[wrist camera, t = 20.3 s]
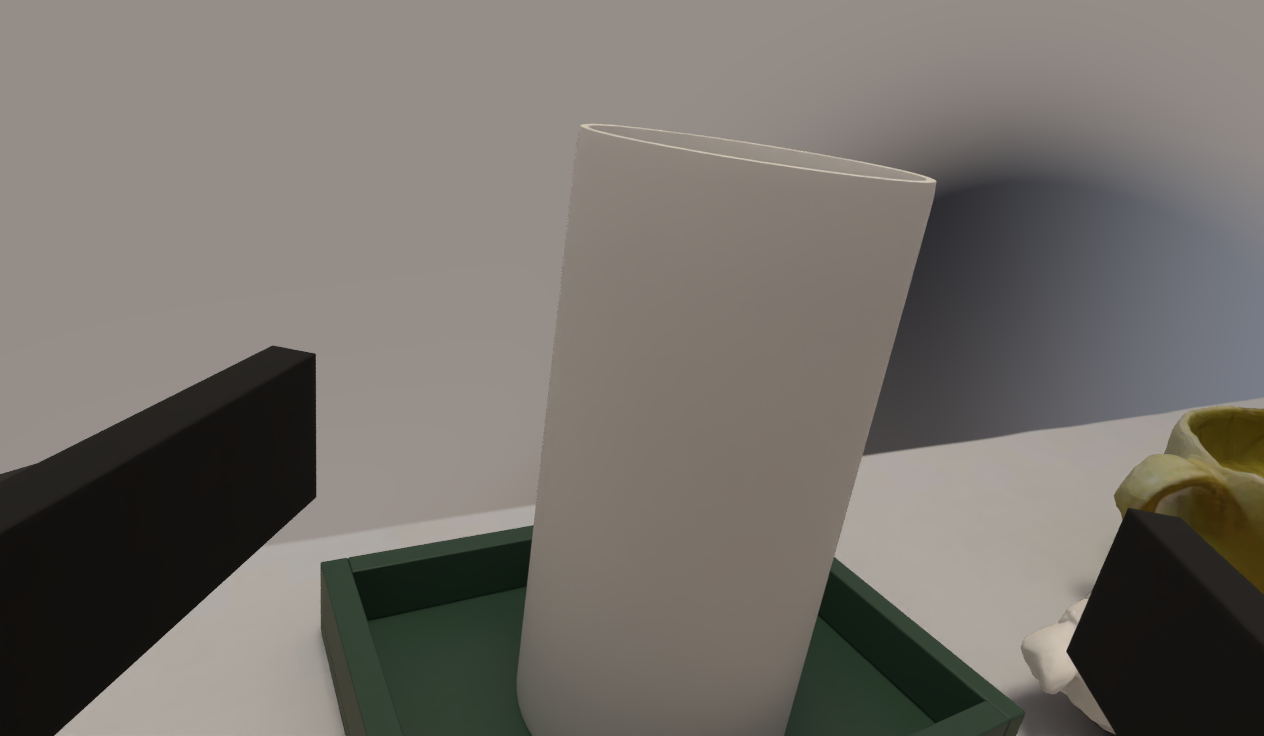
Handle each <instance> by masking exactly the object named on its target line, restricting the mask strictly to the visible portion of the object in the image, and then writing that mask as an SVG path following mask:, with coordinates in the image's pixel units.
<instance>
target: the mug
mask: <svg viewBox="0 0 1264 736" xmlns="http://www.w3.org/2000/svg"><path fill="white" fill-rule="evenodd" d="M1114 498H1115V502H1116V506H1117V507H1118V509H1119V510H1120V512H1121V516H1122V519H1123V518H1124V516H1125V514H1126V511H1127V509H1128V508H1133V509H1138V510H1143V511H1148V512H1154V513H1159V514H1164V515H1170V516H1175V517H1180V518H1181V519H1182V520H1183V521H1185V522H1186V523H1187V524H1188V525H1189V526H1190V527H1191V528H1192V529H1193V530H1194V531H1195V532H1196V533H1198V534H1199V535H1200V536H1201V537H1202V538H1203V539H1204V540H1205V541H1206V542H1207V543H1208V544H1209V545H1211V546H1212V547H1213V548H1214V549H1215V550H1216V551H1217V552H1218V553H1219V554H1220V555H1221V556H1222V557H1224V558H1225V559H1226V560H1227V561H1228V562H1229V563H1230V564H1231V565H1232V566H1233V567H1234V568H1235V569H1236V570H1238V571H1239V572H1240V573H1241V574H1242V575H1243V576H1244V577H1245V578H1246V579H1247V580H1248V581H1249V582H1251V583H1252V584H1253V585H1254V586H1255V587H1256V588H1257V589H1258V590H1259V591H1260V592H1261V593H1262V594H1264V409H1256V408H1241V407H1235V406H1216V407H1209V408H1203V409H1199V410H1192V411H1189V412H1187V413H1185V414H1184V415H1183V416H1182V417H1181V419H1180V420H1179V421H1178V422H1177V424H1176V425H1175V427H1174V428H1173V430H1172V433H1171V436H1170V438H1169V441H1168V444H1167V448H1166V450H1165V453H1164V454H1157V455H1151V456H1149V457H1147V458H1146V459H1145V460H1144V461H1143V462H1142V463H1140V464H1139V465H1138V466H1136V467H1135V468H1133V470H1132V471H1131V472H1130V474H1129V475H1128V476H1127V477H1126V478H1125V480H1124V481H1123V482H1122V484H1121V485H1120V487H1119V488H1118V489H1117V491H1116V492H1115V495H1114Z"/></svg>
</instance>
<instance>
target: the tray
mask: <svg viewBox="0 0 1264 736" xmlns="http://www.w3.org/2000/svg"><path fill="white" fill-rule="evenodd" d="M533 527H534V525H533V526H527V527H522V528H516V529H510V530H504V531H499V532H493V533H487V534H481V535H476V536H470V537H464V538H458V539H453V540H447V541H441V542H435V543H430V544H424V545H418V546H412V547H407V548H401V549H395V550H389V551H384V552H378V553H372V554H366V555H361V556H355V557H349V558H348V559H347V558H343V559H338V560H332V561H326V562H322V563H321V631H322V636H323V640H324V644H325V648H326V653H327V657H328V661H329V665H330V670H331V674H332V678H333V682H334V687H335V691H336V695H337V699H338V704H339V708H340V712H341V716H342V720H343V725H344V729H345V733H346V736H532V735H531V733H530V732H529V730H528V728H527V726H526V724H525V722H524V719H523V717H522V715H521V711H520V708H519V704H518V698H517V684H516V681H517V671H518V662H519V653H520V644H521V635H522V626H523V617H524V608H525V599H526V590H527V581H528V572H529V563H530V554H531V545H532V536H533ZM1024 715H1025V712H1024V710H1022V709H1021V708H1020V707H1019V706H1017V705H1016V704H1015V703H1014V702H1013V701H1011V700H1010V699H1009V698H1008V697H1006V696H1005V695H1004V694H1003V693H1001V692H1000V691H999V690H998V689H996V688H995V687H994V686H993V685H992V684H990V683H989V682H988V681H987V680H985V679H984V678H983V677H982V676H980V675H979V674H978V673H977V672H975V671H974V670H973V669H972V668H971V667H969V666H968V665H967V664H966V663H964V662H963V661H962V660H961V659H959V658H958V657H957V656H956V655H954V654H953V653H952V652H951V651H950V650H948V649H947V648H946V647H945V646H943V645H942V644H941V643H940V642H938V641H937V640H936V639H935V638H933V637H932V636H931V635H930V634H929V633H927V632H926V631H925V630H924V629H922V628H921V627H920V626H919V625H917V624H916V623H915V622H914V621H912V620H911V619H910V618H909V617H908V616H906V615H905V614H904V613H903V612H901V611H900V610H899V609H898V608H896V607H895V606H894V605H893V604H892V603H890V602H889V601H888V600H887V599H885V598H884V597H883V596H882V595H880V594H879V593H878V592H877V591H875V590H874V589H873V588H872V587H871V586H869V585H868V584H867V583H866V582H864V581H863V580H862V579H861V578H859V577H858V576H857V575H856V574H854V573H853V572H852V571H851V570H850V569H848V568H847V567H846V566H845V565H843V564H842V563H841V562H840V561H838V560H837V559H836V558H835V557H834V558H833V562H832V565H831V569H830V573H829V576H828V580H827V583H826V587H825V590H824V594H823V598H822V601H821V605H820V608H819V612H818V615H817V619H816V623H815V626H814V630H813V633H812V637H811V641H810V644H809V648H808V651H807V655H806V658H805V662H804V666H803V669H802V673H801V676H800V680H799V683H798V687H797V691H796V694H795V698H794V701H793V705H792V709H791V712H790V716H789V719H788V723H787V726H786V730H785V734H784V736H1016V734H1017V732H1018V730H1019V727H1020V725H1021V723H1022V720H1023V718H1024Z"/></svg>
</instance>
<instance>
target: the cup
mask: <svg viewBox="0 0 1264 736" xmlns="http://www.w3.org/2000/svg"><path fill="white" fill-rule="evenodd" d="M935 187H936V181H935V180H934V179H931V178H929V177H926V176H923V175H919V174H915V173H912V172H908V171H903V170H899V169H894V168H889V167H885V166H880V165H875V164H870V163H865V162H860V161H855V160H849V159H843V158H839V157H833V156H827V155H822V154H816V153H810V152H805V151H798V150H793V149H787V148H780V147H774V146H768V145H761V144H756V143H749V142H743V141H736V140H729V139H722V138H715V137H708V136H701V135H694V134H687V133H679V132H672V131H664V130H655V129H647V128H638V127H628V126H619V125H618V126H617V125H607V124H606V125H605V124H582V125H580V129H579V133H578V138H577V143H576V152H575V160H574V169H573V178H572V187H571V196H570V205H569V214H568V222H567V231H566V240H565V249H564V257H563V266H562V276H561V284H560V294H559V302H558V311H557V321H556V329H555V338H554V347H553V357H552V365H551V374H550V383H549V392H548V402H547V410H546V420H545V428H544V437H543V446H542V456H541V464H540V473H539V483H538V491H537V501H536V509H535V518H534V527H533V536H532V545H531V554H530V563H529V572H528V581H527V590H526V599H525V608H524V617H523V626H522V635H521V644H520V653H519V662H518V671H517V681H516V684H517V698H518V704H519V708H520V711H521V715H522V717H523V719H524V722H525V724H526V726H527V728H528V730H529V732H530V733H531V735H532V736H784V734H785V730H786V726H787V723H788V719H789V716H790V712H791V709H792V705H793V701H794V698H795V694H796V691H797V687H798V683H799V680H800V676H801V673H802V669H803V666H804V662H805V658H806V655H807V651H808V648H809V644H810V641H811V637H812V633H813V630H814V626H815V623H816V619H817V615H818V612H819V608H820V605H821V601H822V598H823V594H824V590H825V587H826V583H827V580H828V576H829V573H830V569H831V565H832V562H833V558H834V555H835V551H836V547H837V544H838V540H839V537H840V533H841V530H842V526H843V522H844V519H845V515H846V512H847V508H848V504H849V501H850V497H851V494H852V490H853V487H854V483H855V479H856V476H857V472H858V469H859V465H860V462H861V458H862V454H863V451H864V447H865V444H866V440H867V436H868V433H869V429H870V426H871V422H872V419H873V415H874V411H875V408H876V404H877V401H878V397H879V394H880V390H881V386H882V383H883V379H884V376H885V372H886V368H887V365H888V361H889V358H890V354H891V350H892V347H893V343H894V340H895V336H896V332H897V329H898V325H899V322H900V318H901V315H902V311H903V308H904V304H905V300H906V297H907V293H908V290H909V286H910V282H911V279H912V274H913V271H914V268H915V264H916V261H917V257H918V253H919V250H920V246H921V243H922V239H923V235H924V231H925V228H926V224H927V221H928V217H929V214H930V210H931V206H932V203H933V199H934V193H935Z"/></svg>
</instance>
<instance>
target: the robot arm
mask: <svg viewBox="0 0 1264 736" xmlns="http://www.w3.org/2000/svg"><path fill="white" fill-rule="evenodd" d="M315 498H316V354H314V353H308V352H303V351H298V350H293V349H288V348H283V347H277V346H271V347H269V348H267V349H265V350H263V351H261V352H259V353H257V354H255V355H253V356H251V357H249V358H247V359H245V360H243V361H241V362H239V363H237V364H235V365H233V366H231V367H229V368H227V369H225V370H223V371H221V372H219V373H217V374H215V375H213V376H211V377H209V378H207V379H205V380H203V381H201V382H199V383H197V384H195V385H193V386H191V387H189V388H187V389H185V390H183V391H181V392H179V393H177V394H175V395H173V396H172V397H169V398H167V399H165V400H163V401H161V402H159V403H157V404H155V405H153V406H151V407H149V408H147V409H145V410H143V411H141V412H139V413H137V414H135V415H133V416H131V417H129V418H127V419H125V420H123V421H121V422H119V423H117V424H115V425H113V426H111V427H109V428H107V429H106V430H104V431H101V432H99V433H98V434H96V435H93V436H91V437H89V438H87V439H85V440H83V441H81V442H79V443H77V444H75V445H73V446H71V447H69V448H67V449H65V450H63V451H61V452H59V453H57V454H55V455H54V456H51V457H49V458H47V459H45V460H43V461H41V462H40V463H37V464H34V465H30V466H27V467H23V468H20V469H17V470H13V471H10V472H7V473H3V474H0V736H54V735H55V734H56V733H58V732H59V731H60V730H61V729H62V728H63V727H64V726H65V725H66V724H67V723H69V722H70V721H71V720H72V719H73V718H74V717H75V716H76V715H77V714H78V713H80V712H81V711H82V710H83V709H84V708H85V707H86V706H87V705H88V704H89V703H90V702H92V701H93V700H94V699H95V698H96V697H97V696H98V695H99V694H100V693H101V692H103V691H104V690H105V689H106V688H107V687H108V686H109V685H110V684H111V683H112V682H114V681H115V680H116V679H117V678H118V677H119V676H120V675H121V674H122V673H123V672H125V671H126V670H127V669H128V668H129V667H130V666H131V665H132V664H133V663H134V662H136V661H137V660H138V659H139V658H140V657H141V656H142V655H143V654H144V653H145V652H147V651H148V650H149V649H150V648H151V647H152V646H153V645H154V644H155V643H156V642H158V641H159V640H160V639H161V638H162V637H163V636H164V635H165V634H166V633H167V632H168V631H170V630H171V629H172V628H173V627H174V626H175V625H176V624H177V623H178V622H179V621H181V620H182V619H183V618H184V617H185V616H186V615H187V614H188V613H189V612H190V611H192V610H193V609H194V608H195V607H196V606H197V605H198V604H199V603H200V602H201V601H203V600H204V599H205V598H206V597H207V596H208V595H209V594H210V593H211V592H212V591H214V590H215V589H216V588H217V587H218V586H219V585H220V584H221V583H222V582H223V581H225V580H226V579H227V578H228V577H229V576H230V575H231V574H232V573H233V572H234V571H236V570H237V569H238V568H239V567H240V566H241V565H242V564H243V563H244V562H245V561H247V560H248V559H249V558H250V557H251V556H252V555H253V554H254V553H255V552H256V551H257V550H259V549H260V548H261V547H262V546H263V545H264V544H265V543H266V542H267V541H268V540H269V539H271V538H272V537H273V536H274V535H275V534H276V533H277V532H278V531H279V530H280V529H282V527H284V526H285V525H286V524H287V523H288V522H289V521H290V520H292V519H293V517H295V516H296V515H297V514H298V513H299V512H300V511H301V510H303V509H304V508H305V507H306V506H307V505H308V504H309V503H310V502H311V501H312V500H314V499H315ZM1066 652H1067V654H1068V656H1069V657H1070V659H1071V661H1072V662H1073V664H1074V666H1075V667H1076V669H1077V671H1078V672H1079V674H1080V676H1081V677H1082V679H1083V681H1084V682H1085V684H1086V686H1087V687H1088V689H1089V691H1090V692H1091V694H1092V696H1093V697H1094V699H1095V700H1096V702H1097V704H1098V705H1099V707H1100V709H1101V710H1102V712H1103V714H1104V715H1105V717H1106V719H1107V720H1108V722H1109V724H1110V725H1111V727H1112V729H1113V730H1114V732H1115V734H1116V735H1117V736H1264V594H1262V593H1261V592H1260V591H1259V590H1258V589H1257V588H1256V587H1255V586H1254V585H1253V584H1252V583H1251V582H1249V581H1248V580H1247V579H1246V578H1245V577H1244V576H1243V575H1242V574H1241V573H1240V572H1239V571H1238V570H1236V569H1235V568H1234V567H1233V566H1232V565H1231V564H1230V563H1229V562H1228V561H1227V560H1226V559H1225V558H1224V557H1222V556H1221V555H1220V554H1219V553H1218V552H1217V551H1216V550H1215V549H1214V548H1213V547H1212V546H1211V545H1209V544H1208V543H1207V542H1206V541H1205V540H1204V539H1203V538H1202V537H1201V536H1200V535H1199V534H1198V533H1196V532H1195V531H1194V530H1193V529H1192V528H1191V527H1190V526H1189V525H1188V524H1187V523H1186V522H1185V521H1183V520H1182V519H1181V518H1180V517H1175V516H1170V515H1164V514H1159V513H1154V512H1148V511H1143V510H1138V509H1133V508H1128V509H1127V511H1126V514H1125V516H1124V518H1123V521H1122V523H1121V525H1120V528H1119V530H1118V532H1117V534H1116V537H1115V539H1114V541H1113V544H1112V546H1111V548H1110V551H1109V553H1108V555H1107V558H1106V560H1105V562H1104V565H1103V567H1102V569H1101V571H1100V574H1099V576H1098V578H1097V581H1096V583H1095V585H1094V588H1093V590H1092V592H1091V595H1090V597H1089V599H1088V602H1087V604H1086V606H1085V608H1084V611H1083V613H1082V615H1081V618H1080V620H1079V622H1078V625H1077V627H1076V629H1075V632H1074V634H1073V636H1072V639H1071V641H1070V643H1069V645H1068V648H1067V650H1066Z"/></svg>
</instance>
